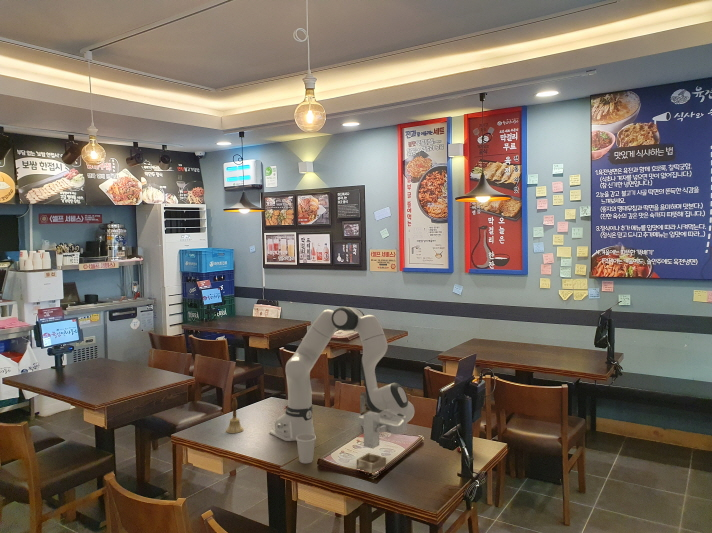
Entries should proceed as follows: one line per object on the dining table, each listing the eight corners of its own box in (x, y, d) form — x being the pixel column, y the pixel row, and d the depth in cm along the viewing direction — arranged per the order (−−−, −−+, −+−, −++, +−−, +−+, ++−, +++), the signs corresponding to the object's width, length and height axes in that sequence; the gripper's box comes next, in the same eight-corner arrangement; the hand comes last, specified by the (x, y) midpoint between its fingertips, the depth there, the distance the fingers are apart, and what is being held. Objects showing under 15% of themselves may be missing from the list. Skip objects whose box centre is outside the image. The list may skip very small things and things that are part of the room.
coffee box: (379, 423, 265) (379, 391, 265) (378, 427, 259) (378, 395, 258) (361, 422, 266) (361, 391, 266) (360, 427, 260) (360, 394, 259)
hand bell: (222, 430, 255) (222, 397, 254) (238, 426, 260) (238, 394, 260) (231, 434, 248) (231, 401, 248) (246, 430, 254) (246, 398, 253)
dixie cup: (297, 456, 223) (297, 433, 222) (317, 456, 223) (317, 433, 222) (294, 464, 214) (294, 440, 214) (314, 464, 214) (314, 440, 214)
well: (356, 470, 209) (356, 459, 209) (368, 463, 216) (368, 452, 215) (373, 476, 204) (374, 464, 204) (385, 468, 211) (386, 457, 210)
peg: (363, 446, 209) (363, 414, 208) (370, 442, 213) (370, 411, 212) (372, 448, 206) (373, 416, 206) (379, 445, 210) (379, 413, 209)
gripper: (368, 407, 226) (349, 416, 214) (409, 417, 213) (391, 426, 202) (368, 422, 226) (349, 431, 215) (409, 432, 214) (391, 442, 203)
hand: (370, 428), depth 208 cm, fingers closed on peg, 4 cm apart
